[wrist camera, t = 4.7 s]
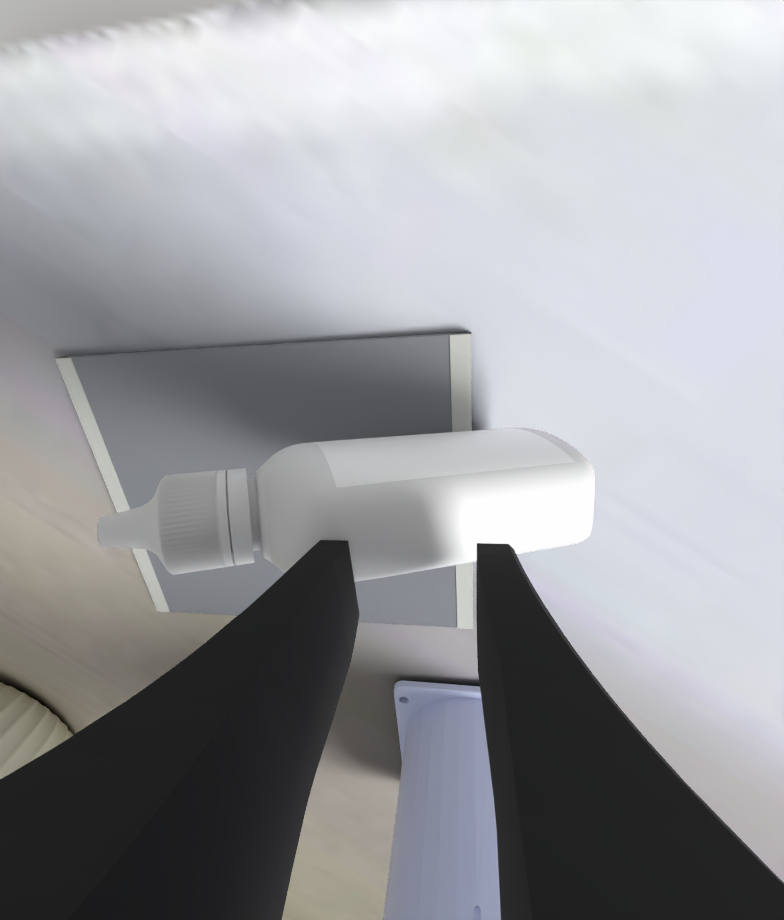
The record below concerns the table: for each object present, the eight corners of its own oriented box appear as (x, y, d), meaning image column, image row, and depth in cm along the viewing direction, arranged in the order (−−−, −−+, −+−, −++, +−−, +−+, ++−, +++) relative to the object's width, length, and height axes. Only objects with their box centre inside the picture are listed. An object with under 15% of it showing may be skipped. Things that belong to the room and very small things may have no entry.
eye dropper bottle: (512, 377, 15) (99, 389, 11) (628, 489, 10) (28, 570, 7) (479, 476, 17) (139, 512, 14) (561, 596, 13) (105, 696, 9)
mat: (473, 621, 20) (472, 628, 20) (162, 605, 23) (157, 611, 22) (471, 331, 15) (471, 333, 14) (64, 356, 17) (54, 358, 17)
